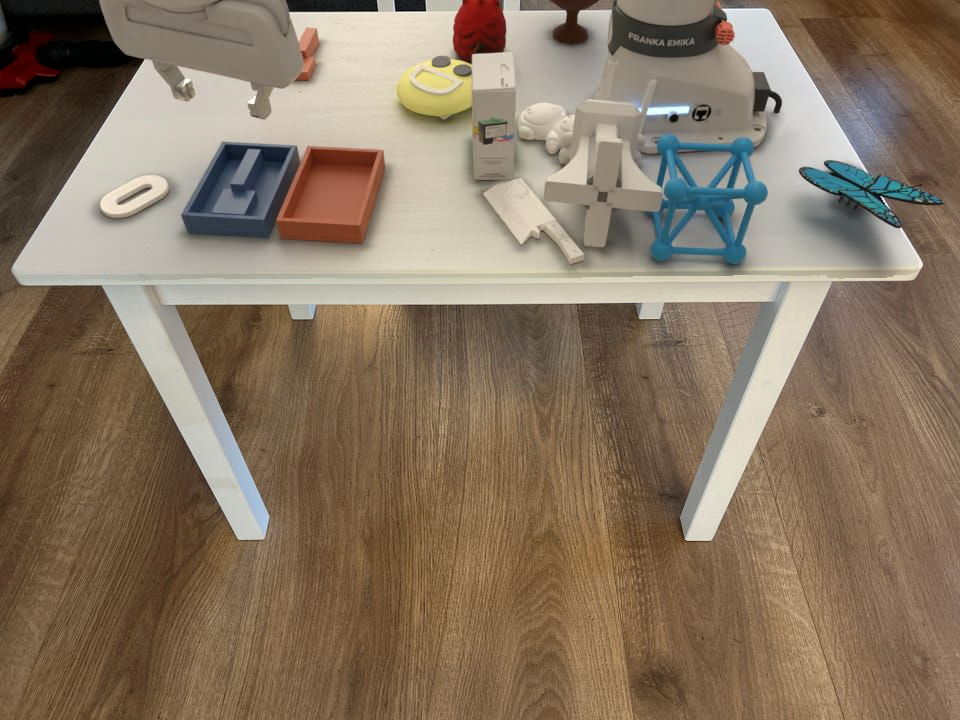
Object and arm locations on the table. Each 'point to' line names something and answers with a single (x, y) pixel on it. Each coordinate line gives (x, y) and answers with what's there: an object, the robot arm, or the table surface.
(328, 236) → the terracotta tray
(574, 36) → the ice cream bowl
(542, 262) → the table surface
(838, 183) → the butterfly
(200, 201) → the blue tray
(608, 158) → the toy gun turret
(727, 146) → the molecular structure
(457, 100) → the emoji
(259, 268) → the table surface
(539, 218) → the cleaver
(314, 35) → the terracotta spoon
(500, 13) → the red clay folk toy
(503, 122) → the ink box
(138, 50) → the robot arm
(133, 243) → the table surface
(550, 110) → the astronaut figurine
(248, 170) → the paddle
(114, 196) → the chain link
